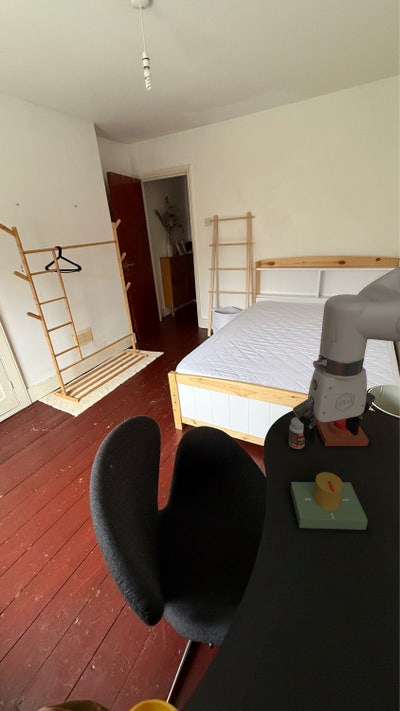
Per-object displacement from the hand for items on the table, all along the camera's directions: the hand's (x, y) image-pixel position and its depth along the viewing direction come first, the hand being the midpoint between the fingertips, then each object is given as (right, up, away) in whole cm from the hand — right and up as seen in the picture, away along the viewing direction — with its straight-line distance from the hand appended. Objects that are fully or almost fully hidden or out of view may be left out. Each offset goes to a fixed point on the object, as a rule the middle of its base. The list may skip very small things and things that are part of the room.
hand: (330, 435), depth 62 cm
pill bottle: (+2, -10, +27) cm, 29 cm away
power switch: (+16, -8, +29) cm, 34 cm away
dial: (+2, -16, +6) cm, 18 cm away
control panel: (+2, -19, +7) cm, 21 cm away
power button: (+16, -4, +28) cm, 32 cm away
